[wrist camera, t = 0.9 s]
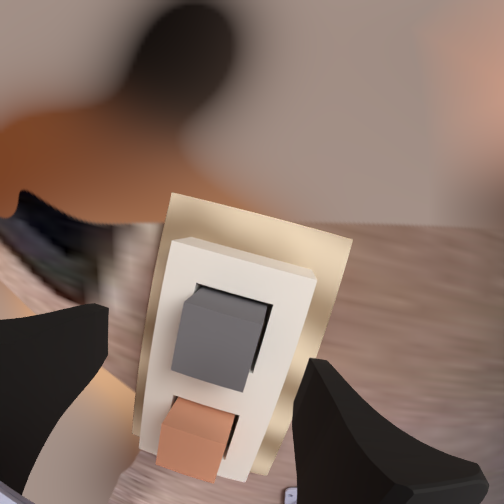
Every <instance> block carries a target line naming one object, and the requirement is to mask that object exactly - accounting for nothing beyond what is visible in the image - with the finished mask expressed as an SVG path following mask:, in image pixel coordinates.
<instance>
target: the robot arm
mask: <svg viewBox="0 0 504 504" xmlns="http://www.w3.org/2000/svg"><path fill="white" fill-rule="evenodd" d="M108 313H109V308H107V307H104V306H101V305H98V304H95V303H93V304H85V305H80V306H76V307H71V308H67V309H63V310H58V311H54V312H50V313H45V314H40V315H35V316H29V317H23V318H15V319H6V320H0V504H35V503H33V502H31V501H30V500H28V499H27V498H25V497H23V496H22V493H23V490H24V487H25V485H26V482H27V480H28V477H29V475H30V472H31V470H32V468H33V466H34V464H35V461H36V459H37V457H38V455H39V453H40V451H41V449H42V447H43V446H44V444H45V442H46V440H47V438H48V437H49V435H50V433H51V432H52V430H53V428H54V427H55V425H56V423H57V422H58V420H59V419H60V417H61V416H62V415H63V413H64V412H65V411H66V409H67V408H68V407H69V406H70V405H71V404H72V402H73V401H74V400H75V399H76V398H77V396H78V395H79V394H80V393H81V392H82V391H83V390H84V388H85V387H86V386H87V385H88V384H89V382H90V381H91V380H92V379H93V378H94V376H95V375H96V374H97V372H98V370H99V369H100V368H101V366H102V364H103V363H104V361H105V359H106V357H107V356H108ZM292 430H293V441H294V451H295V461H296V472H297V488H287V489H286V490H285V504H480V503H481V502H482V500H483V499H484V497H485V496H486V494H487V492H488V488H489V483H488V482H487V480H486V478H485V476H484V474H483V472H482V470H481V469H480V467H479V465H478V464H477V463H474V462H470V461H467V460H464V459H461V458H458V457H455V456H451V455H449V454H446V453H444V452H442V451H439V450H437V449H435V448H432V447H430V446H428V445H426V444H424V443H422V442H420V441H419V440H417V439H415V438H413V437H412V436H410V435H408V434H407V433H405V432H403V431H402V430H400V429H399V428H397V427H396V426H395V425H393V424H392V423H391V422H389V421H388V420H387V419H385V418H384V417H383V416H381V415H380V414H379V413H378V412H377V411H375V410H374V409H373V408H372V407H371V406H370V405H369V404H368V403H367V402H366V401H365V400H364V399H363V398H362V397H361V396H360V395H359V394H358V393H357V392H356V391H355V390H354V389H353V388H352V387H351V386H350V385H349V384H348V383H347V382H346V381H345V380H344V378H343V377H342V376H341V375H340V374H339V373H338V372H337V371H336V370H335V368H334V367H333V366H332V365H331V364H330V363H329V362H328V361H327V360H321V359H316V358H309V361H308V364H307V366H306V369H305V372H304V375H303V378H302V380H301V383H300V386H299V389H298V391H297V394H296V397H295V399H294V402H293V416H292ZM289 494H291V495H289Z"/></svg>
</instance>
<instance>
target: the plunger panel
mask: <svg viewBox="0 0 504 504" xmlns="http://www.w3.org/2000/svg"><path fill="white" fill-rule="evenodd" d="M316 283H317V279H316V277H315V275H314V273H313V271H312V269H308V268H304V267H301V266H297V265H293V264H290V263H286V262H282V261H278V260H275V259H271V258H267V257H264V256H260V255H256V254H253V253H249V252H245V251H241V250H238V249H234V248H230V247H227V246H223V245H219V244H216V243H212V242H208V241H205V240H201V239H197V238H194V237H188V238H182V239H177V240H172V242H171V246H170V251H169V255H168V260H167V265H166V270H165V275H164V280H163V285H162V290H161V295H160V300H159V306H158V311H157V317H156V322H155V328H154V334H153V340H152V347H151V353H150V360H149V366H148V373H147V381H146V388H145V396H144V404H143V413H142V422H141V431H140V442H139V448H140V449H142V450H144V451H147V452H149V453H152V454H154V455H157V451H158V444H159V438H160V431H161V424H162V422H163V421H164V419H165V417H166V416H167V414H168V413H169V411H170V409H171V408H172V406H173V405H174V403H175V401H176V400H177V398H178V397H181V398H184V399H187V400H190V401H193V402H196V403H199V404H202V405H206V406H209V407H212V408H215V409H219V410H222V411H225V412H229V413H233V414H236V415H238V417H237V420H236V424H235V427H234V430H231V431H230V434H229V438H228V441H227V445H226V448H225V451H224V454H223V457H222V460H221V463H220V466H219V469H218V472H217V475H218V476H222V477H225V478H229V479H233V480H237V481H241V482H245V481H246V479H247V477H248V474H249V472H250V470H251V467H252V465H253V462H254V460H255V458H256V455H257V453H258V450H259V448H260V445H261V443H262V440H263V438H264V435H265V433H266V430H267V427H268V425H269V422H270V420H271V417H272V414H273V412H274V409H275V406H276V404H277V401H278V398H279V395H280V393H281V390H282V387H283V384H284V382H285V379H286V376H287V373H288V370H289V367H290V364H291V361H292V359H293V356H294V353H295V350H296V347H297V344H298V341H299V338H300V335H301V331H302V328H303V325H304V322H305V319H306V316H307V313H308V309H309V306H310V303H311V300H312V296H313V293H314V290H315V286H316ZM203 286H207V287H208V286H209V287H212V288H216V289H219V290H223V291H226V292H230V293H233V294H237V295H240V296H244V297H247V298H251V299H255V300H258V301H262V302H265V303H269V304H271V308H270V311H269V315H268V318H267V322H266V325H265V329H264V332H263V336H262V339H261V342H260V346H259V349H256V351H255V354H254V357H253V361H252V364H251V367H250V371H249V374H248V377H247V381H246V384H245V387H244V390H243V393H242V392H239V391H235V390H232V389H228V388H225V387H221V386H218V385H215V384H211V383H208V382H205V381H202V380H199V379H196V378H193V377H190V376H187V375H184V374H181V373H178V372H175V371H172V370H171V365H172V360H173V354H174V349H175V344H176V339H177V334H178V329H179V324H180V319H181V314H182V309H183V304H184V301H186V300H187V299H188V298H189V297H191V296H192V295H193V294H194V293H196V292H197V291H198V290H199V289H201V288H202V287H203Z"/></svg>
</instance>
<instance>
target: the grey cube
mask: <svg viewBox="0 0 504 504" xmlns="http://www.w3.org/2000/svg"><path fill="white" fill-rule="evenodd" d="M267 305H268V304H267V303H263V302H259V301H256V300H252V299H249V298H245V297H241V296H238V295H234V294H231V293H227V292H224V291H220V290H217V289H214V288H210V287H207V286H203V287H202V288H201V289H199V290H198V291H197V292H196V293H194V294H193V295H192V296H191V297H189V298H188V299H187V300H186V301H184V304H183V309H182V314H181V319H180V324H179V329H178V334H177V339H176V344H175V349H174V354H173V360H172V365H171V370H172V371H175V372H178V373H181V374H184V375H187V376H190V377H193V378H196V379H199V380H202V381H205V382H208V383H211V384H215V385H218V386H221V387H225V388H228V389H232V390H235V391H239V392H242V393H243V390H244V387H245V384H246V381H247V377H248V374H249V371H250V367H251V364H252V361H253V357H254V354H255V351H256V347H257V344H258V340H259V337H260V334H261V330H262V327H263V323H264V318H265V314H266V310H267Z"/></svg>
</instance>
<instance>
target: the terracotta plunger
mask: <svg viewBox="0 0 504 504" xmlns="http://www.w3.org/2000/svg"><path fill="white" fill-rule="evenodd" d="M234 417H235V414H233V413H229V412H225V411H222V410H219V409H215V408H212V407H209V406H206V405H202V404H199V403H196V402H193V401H190V400H187V399H184V398H181V397H178V398H177V400H176V401H175V403H174V405H173V406H172V408H171V409H170V411H169V413H168V414H167V416H166V417H165V419H164V421H163V422H162V424H161V431H160V438H159V444H158V451H157V459H156V465H159V466H162V467H164V468H167V469H170V470H173V471H175V472H178V473H181V474H184V475H187V476H190V477H194V478H197V479H200V480H203V481H207V482H210V483H214V481H215V478H216V475H217V472H218V469H219V466H220V463H221V460H222V457H223V454H224V451H225V448H226V445H227V441H228V438H229V434H230V431H231V427H232V424H233V420H234Z"/></svg>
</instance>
